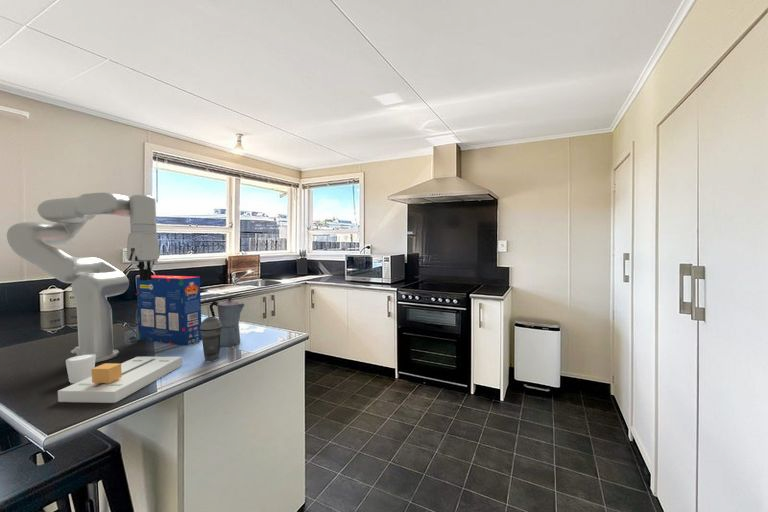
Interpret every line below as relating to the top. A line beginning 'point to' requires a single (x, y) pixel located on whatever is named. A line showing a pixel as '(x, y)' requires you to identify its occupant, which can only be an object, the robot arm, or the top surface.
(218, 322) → the beverage cup
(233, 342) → the moka pot
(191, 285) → the blue box
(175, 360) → the slide fader track
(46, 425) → the top surface
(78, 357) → the white tapered cup
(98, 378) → the fader knob
